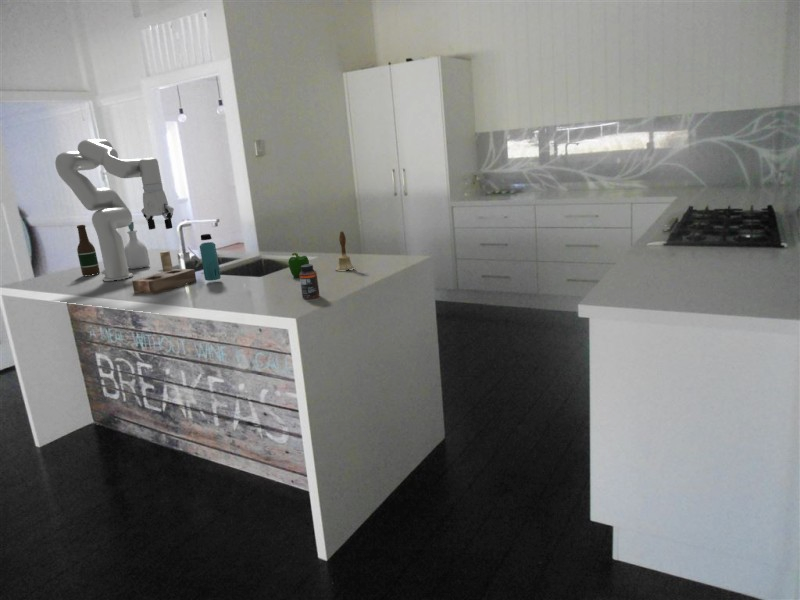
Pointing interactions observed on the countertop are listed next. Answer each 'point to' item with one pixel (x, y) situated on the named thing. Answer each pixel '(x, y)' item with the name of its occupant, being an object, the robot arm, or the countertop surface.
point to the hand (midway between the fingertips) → (160, 228)
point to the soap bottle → (136, 251)
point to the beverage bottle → (209, 259)
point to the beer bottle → (86, 253)
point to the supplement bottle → (309, 282)
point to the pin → (166, 260)
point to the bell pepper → (297, 264)
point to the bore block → (163, 281)
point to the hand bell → (343, 255)
